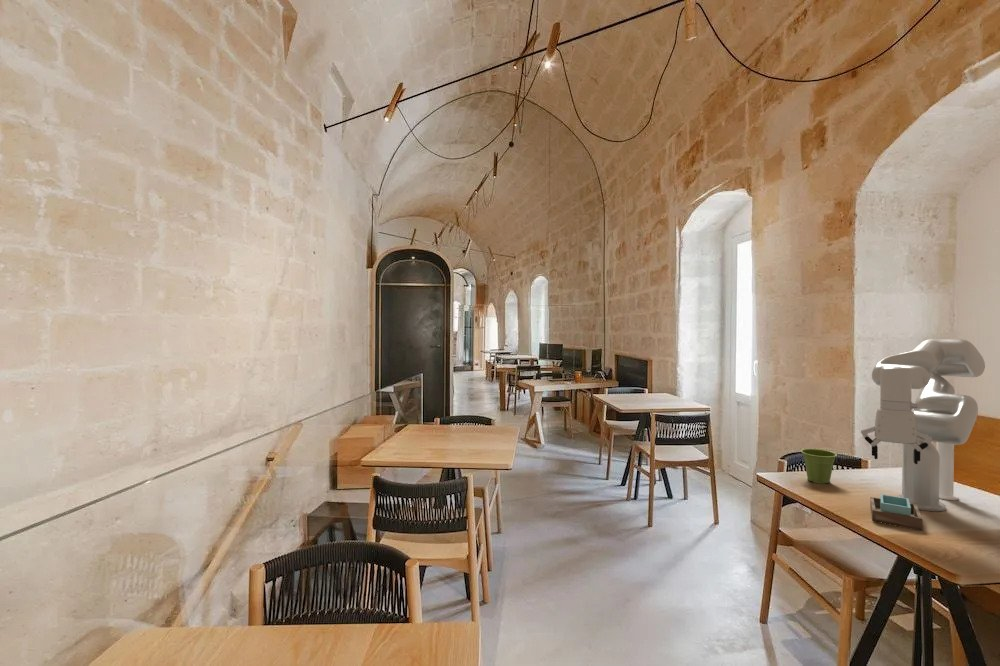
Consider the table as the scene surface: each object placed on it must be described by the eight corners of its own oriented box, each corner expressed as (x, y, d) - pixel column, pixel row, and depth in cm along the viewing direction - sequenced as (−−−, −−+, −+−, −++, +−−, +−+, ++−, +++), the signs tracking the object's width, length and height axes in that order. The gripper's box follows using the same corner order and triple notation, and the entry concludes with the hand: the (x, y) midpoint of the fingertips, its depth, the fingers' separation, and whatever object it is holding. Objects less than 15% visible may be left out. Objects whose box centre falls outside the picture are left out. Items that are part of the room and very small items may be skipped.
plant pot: (794, 476, 194) (794, 448, 194) (823, 476, 194) (823, 448, 194) (813, 486, 182) (813, 456, 182) (844, 486, 182) (844, 456, 182)
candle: (930, 492, 175) (931, 423, 175) (957, 496, 171) (958, 426, 171) (931, 497, 170) (932, 426, 170) (959, 502, 165) (960, 429, 165)
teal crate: (880, 509, 156) (880, 494, 156) (908, 514, 152) (908, 498, 152) (880, 519, 148) (881, 502, 148) (910, 524, 144) (910, 507, 144)
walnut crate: (870, 507, 160) (870, 496, 160) (916, 515, 154) (916, 504, 154) (872, 521, 149) (872, 510, 148) (922, 530, 142) (922, 518, 142)
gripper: (930, 407, 149) (930, 462, 149) (860, 402, 159) (860, 453, 159) (934, 410, 143) (934, 468, 143) (861, 405, 153) (861, 459, 153)
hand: (895, 460), depth 151 cm, fingers open, 9 cm apart
